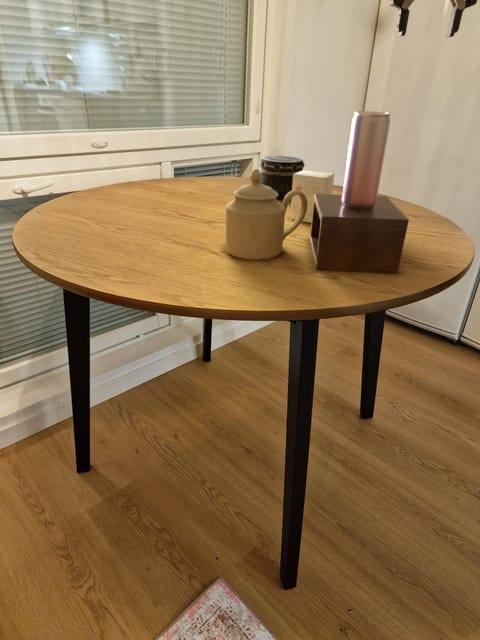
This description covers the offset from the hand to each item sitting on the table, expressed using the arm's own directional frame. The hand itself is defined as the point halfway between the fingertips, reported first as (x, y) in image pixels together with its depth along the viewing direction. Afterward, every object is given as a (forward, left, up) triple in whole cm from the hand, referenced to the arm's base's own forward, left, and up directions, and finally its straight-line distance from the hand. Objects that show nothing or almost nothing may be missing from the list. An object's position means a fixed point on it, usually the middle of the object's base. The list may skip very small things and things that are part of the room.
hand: (425, 36), depth 77 cm
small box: (+17, -6, -36) cm, 41 cm away
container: (+24, -30, -36) cm, 53 cm away
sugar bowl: (+28, +15, -36) cm, 48 cm away
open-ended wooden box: (+11, +17, -36) cm, 41 cm away
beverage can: (+11, +17, -27) cm, 34 cm away
